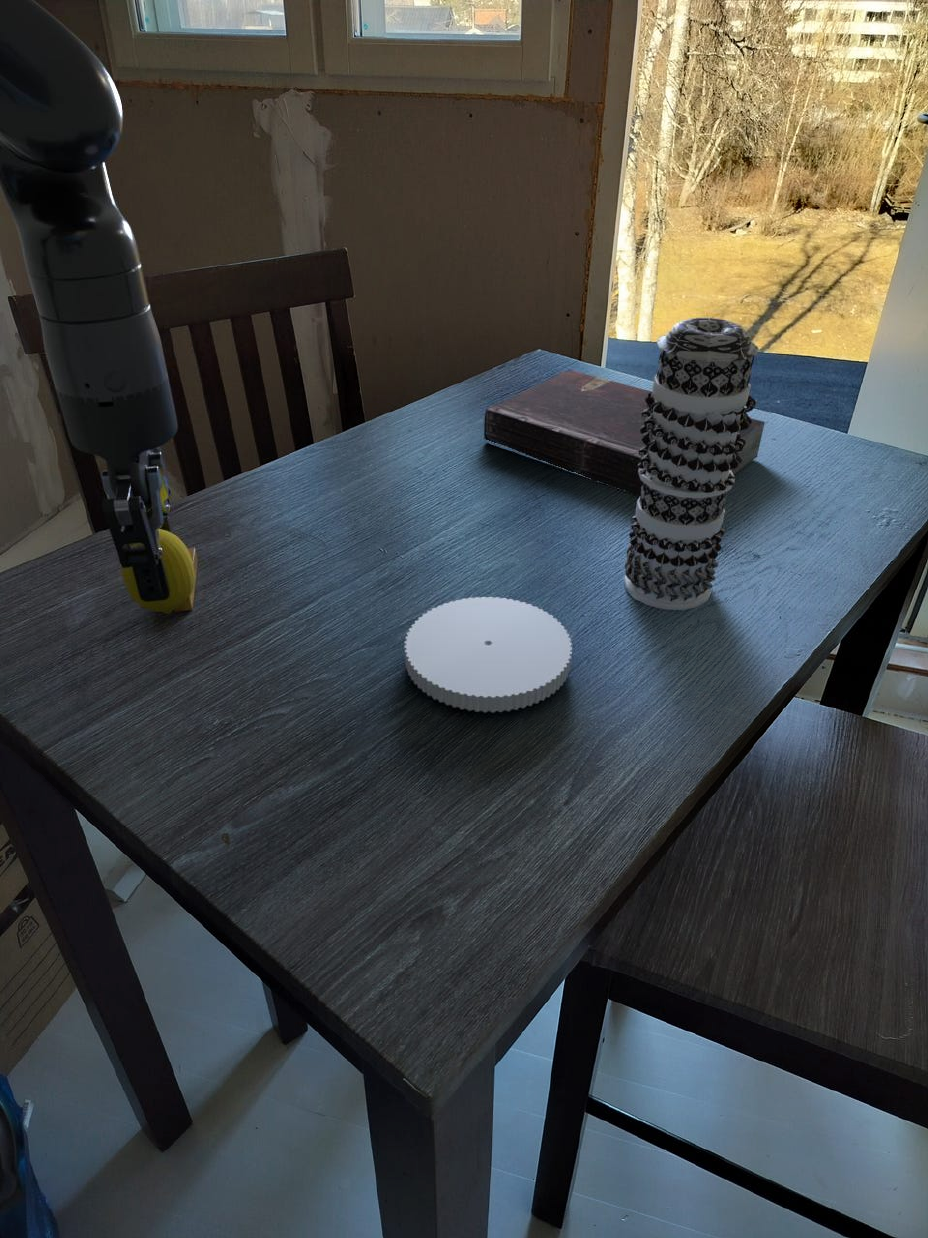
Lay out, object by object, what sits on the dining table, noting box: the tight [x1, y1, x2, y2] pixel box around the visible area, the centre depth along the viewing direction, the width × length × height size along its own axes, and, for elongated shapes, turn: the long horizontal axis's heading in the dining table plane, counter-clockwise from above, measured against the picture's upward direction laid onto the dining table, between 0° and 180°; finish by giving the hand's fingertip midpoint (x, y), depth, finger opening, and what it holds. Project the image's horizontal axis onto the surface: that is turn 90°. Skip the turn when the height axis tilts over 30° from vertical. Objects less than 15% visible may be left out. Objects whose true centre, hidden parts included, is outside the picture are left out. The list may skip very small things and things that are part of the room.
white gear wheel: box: [403, 596, 573, 713], centre depth 72 cm, size 14×14×2 cm
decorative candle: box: [623, 317, 760, 611], centre depth 76 cm, size 9×9×25 cm
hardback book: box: [483, 369, 766, 497], centre depth 107 cm, size 29×19×5 cm, turn 50°
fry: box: [173, 547, 199, 613], centre depth 82 cm, size 2×9×2 cm, turn 11°
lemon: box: [120, 529, 196, 614], centre depth 69 cm, size 6×6×8 cm
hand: (159, 577), depth 69 cm, fingers closed on lemon, 5 cm apart
